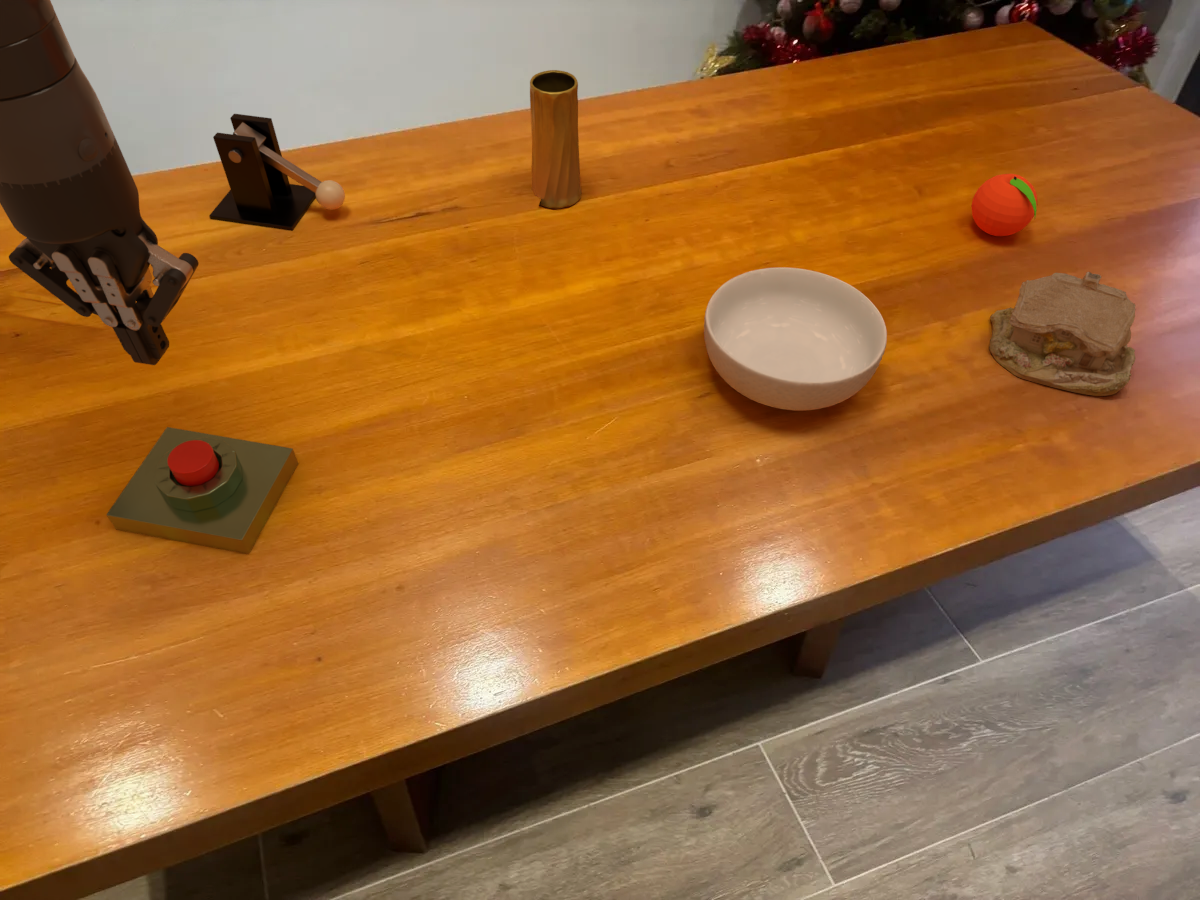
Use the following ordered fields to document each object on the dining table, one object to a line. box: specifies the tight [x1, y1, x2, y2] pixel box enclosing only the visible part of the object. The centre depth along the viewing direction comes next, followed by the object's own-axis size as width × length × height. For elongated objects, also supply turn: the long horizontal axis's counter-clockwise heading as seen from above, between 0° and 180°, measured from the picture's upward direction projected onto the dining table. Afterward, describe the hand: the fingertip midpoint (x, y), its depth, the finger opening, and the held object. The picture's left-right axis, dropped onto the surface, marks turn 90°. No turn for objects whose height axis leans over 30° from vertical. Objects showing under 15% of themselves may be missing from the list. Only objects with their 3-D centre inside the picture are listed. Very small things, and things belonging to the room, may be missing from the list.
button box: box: [106, 426, 299, 555], centre depth 77 cm, size 12×10×4 cm
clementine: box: [971, 173, 1038, 237], centre depth 103 cm, size 8×7×7 cm
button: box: [167, 440, 219, 486], centre depth 75 cm, size 4×4×2 cm
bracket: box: [208, 113, 317, 232], centre depth 101 cm, size 10×8×11 cm
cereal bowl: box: [703, 266, 888, 412], centre depth 87 cm, size 17×17×7 cm
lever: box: [232, 122, 346, 211], centre depth 100 cm, size 13×3×3 cm
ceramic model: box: [989, 271, 1137, 397], centre depth 88 cm, size 14×11×10 cm
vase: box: [529, 69, 583, 209], centre depth 103 cm, size 6×6×14 cm
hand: (151, 356), depth 67 cm, fingers closed
